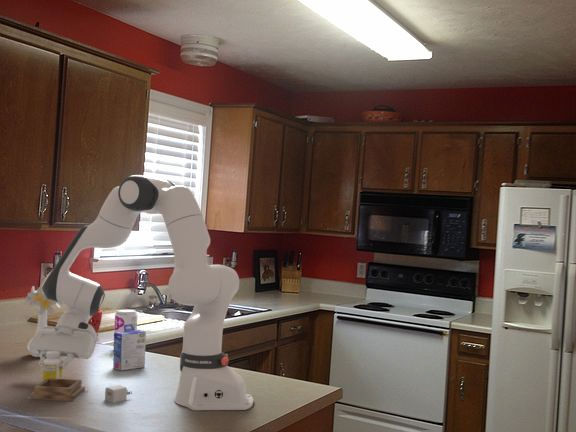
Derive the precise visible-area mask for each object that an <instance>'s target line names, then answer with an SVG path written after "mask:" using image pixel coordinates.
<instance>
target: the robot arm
mask: <svg viewBox="0 0 576 432" xmlns="http://www.w3.org/2000/svg"><path fill="white" fill-rule="evenodd" d="M141 213H146V214H147V215H148V214H149V215H159V214H160V215H161V217H162V218H163V220H164V224H165V228H166V230H167V234H168V237H169V240H170V243H171V244H170V245H171V247H172V251H173V257H174V259H173V260H174V266H173V272H172V274H171V275H170V278H169V281H168V288H167V289H168V293H169V296H170V297H171V298H172V300H173V301H174V302H175V303H177V304H179V305H183V306H191V307H192V306H193V310H192V311H191V314H190V315H189V317H188V318H187V319H186V321H185V322H184V325H183V335H182V338H183V339H182V350H181V352H180V356H179V357H180V358H179V359H180V360H179V371H180V376H179V381H178V387H177V390H176V394H175V397H174V401H173V402H175V403H176V404H178V405H179V406H183V407H186V408H187V409H190V410H192V411H246V410H249V409H251V408H252V407H253V405H254V398H253V396H252V395H251V394H249V393H247V387H246V383H245V380H244V378H242V377H241V375H239V374H238V373H237V372H235V371H234V370H233V369H232V368H231V367H229V366H228V365H229V361H230V360H229V355H228V353H224V352H223V351H222V345H223V332H224V323H225V319H226V316H227V312H228V310H229V306H230V303H231V302H232V299H233V298H234V297H235V295H236V294H237V293H238V291H239V289H240V288H239V287H240V278H239V275H238V273H237V271H236V270H235V269H234V268H232V267H229V266H227V265H224V264H209V263H208V251H207V250H208V248H209V246H210V244H211V237H210V234H209V231H208V228H207V225H206V221H205V219H204V216H203V213H202V210H201V208H200V206H199V203H198V201H197V200H196V197H195V195H194V194H193V192H192V191H191V190H190V188H188V187H186V186H184V185H177V184H175V183H174V182H172V181H171V180H169V179H162V178H159V177H156V176H151V175H141V174H134V175H130V176H127V177H125V178H124V179H123V180H122V181H121V182H120V184H119V185H118V186H115V187H114V188H112V190H111V191H110V192H109V194H108V196H107V197H106V199H105V200H104V202H103V204H102V206H101V208H100V210H99V213H98V215H97V216H96V218H95V220H94V221H93V222H91V224H89V225H88V224H87V225H83V226H82V227H81V228H80V229H79V230H78V231H77V233H76V234H75V236H74V237H73V239H72V240H71V242H70V243H69V244H68V246H67V247H66V249H65V250H64V252H63V253H62V255H61V257H60V258H59V260H58V262H56V265H55V266H54V267H53V268H52V269H51V271H50V272H49V273H48V274H47V275H46V276H45V278H44V280H43V283H42V284H43V287H42V290H43V292H44V294H45V296H46V298H47V299H49V300H53V301H56V302H61V303H62V305H63V304H64V305H66V306H65V310H64V311H63V313H62V314H61V315H60V316H59V319H58V321H57V323H56V325H55V327H54V326H53V327H52V326H51V327H50V326H47V327H44V328H41V329H39V330H38V331H37V330H36V331H37V333H36V332H35V334H34V335H33V337H32V338H31V339H32V340H31V339H30V340H31V342H30V343H29V342H28V343H29V349H30V351H31V352H32V353H33V354H40V357H39V358H40V359H39V361H38V366H39V367H41V368H43V362H44V360H45V359H47V357H46V352H47V351H60V357H62V358H65V359H64V360H62V361H61V362H60V364H59V367H60V369H62V370H66V368H67V367H68V365H70V364H71V363H72V362H73V361H74V360H75V359H80V360H89V359H90V358H91V357H92V356H93V354H94V351H95V347H96V342H97V340H98V337H99V336H98V337H97V334H98V333H97V334H96V332H95V330H94V328H93V327H92V325H90V324H88V321H89V319H90V318H91V317H92V316H93V315H94V314H96V313H97V312H98V310H100V308H101V305H102V303H103V302H104V299H105V296H106V294H105V293H106V292H105V290H104V288H103V286H102V284H100V283H98V282H96V281H93V280H91V279H88V278H85V277H83V276H80V275H78V274H75V273H72V272H71V271H70V268H71V267H72V265H73V263H74V262H75V260H76V259H77V257H78V256H79V255H80V253H81V252H82V251H83V250H85V249H92V248H94V249H95V248H96V249H98V248H99V249H111V248H116V247H118V246H121V245H123V244H124V243H125V242H126V241H127V240H128V238H129V236H130V234H131V233H132V230H133V229H134V226H135V224H136V221H137V219H138V217H139V215H140V214H141ZM30 351H29V352H30ZM31 352H30V353H31ZM32 353H31V354H32ZM60 357H59V358H60Z"/></svg>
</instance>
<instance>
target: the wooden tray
mask: <svg viewBox="0 0 576 432" xmlns="http://www.w3.org/2000/svg"><path fill="white" fill-rule="evenodd" d="M33 388H34V391H32V392H31V393H30V395H31V396H30V395H29V396H30V398H37V399H36V400H42V399H56V400H55V401H61V400H75V399H76V398H77V397H78V396H79V395H80V394H82V393H83V392H84V391H86V390H85V386H82V379H75V378H74V379H71V378H62V379H55V378H47V379H45V380H44V381H43V380H42V381H41V382H40V383H38V384H36V385H35V386H34V387H33Z"/></svg>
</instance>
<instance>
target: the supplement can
mask: <svg viewBox="0 0 576 432" xmlns="http://www.w3.org/2000/svg"><path fill="white" fill-rule="evenodd" d="M129 324H132V325H133V328H134V330H138V312H137V310H135V309H129V308H128V309H127V308H125V309H117V310H116V312H115V314H114V332H113V334H114V333H117V332H125V331H124V325H129ZM131 328H132V327H130V326H128V327H126V329H131Z"/></svg>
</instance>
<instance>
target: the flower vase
mask: <svg viewBox="0 0 576 432" xmlns="http://www.w3.org/2000/svg"><path fill="white" fill-rule="evenodd" d="M42 287H43V283H41V284H40V286H39V287H37V290H35V286H34V285H32V287H31V290H30V291H29V292H28V293H27V295H26V297H25V302H24V303H23V305H26V304H27V303H28V304H27V306H28V307H32V306H34V305H35V306H37V310H38V311H37V313H38V314H37V325H36V326H37V327H36V331H35V334H36V333H37V331H38V330H39V329H41V328H44V327H48V313H49V314H52V315H53V314H54V313H55V310H54V308H53V306H56V307H57V308H61V307H62V306H63V303H61V302H56V301H53V300H49V299H47V298H46V296H45V294H44V292H43V290H42ZM31 340H32V338H31V339H30V340H29V341H28V343H27V345H26V347H27V350H28V352H29V353H30V354H31V357H33V356H34V358H40V354H33V353H32V352H31V351H30V349H29V343H30V342H31Z"/></svg>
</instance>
